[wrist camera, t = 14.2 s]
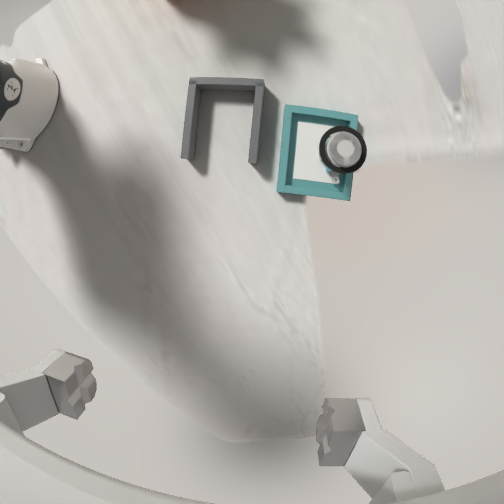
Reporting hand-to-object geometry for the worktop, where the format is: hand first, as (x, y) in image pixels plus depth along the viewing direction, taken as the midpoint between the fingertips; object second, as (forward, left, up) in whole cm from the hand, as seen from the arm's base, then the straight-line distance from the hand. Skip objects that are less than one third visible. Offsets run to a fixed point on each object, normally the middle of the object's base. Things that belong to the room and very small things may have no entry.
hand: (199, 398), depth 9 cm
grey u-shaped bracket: (-6, +14, -35) cm, 38 cm away
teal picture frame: (+7, +11, -35) cm, 37 cm away
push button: (+9, +10, -35) cm, 37 cm away
